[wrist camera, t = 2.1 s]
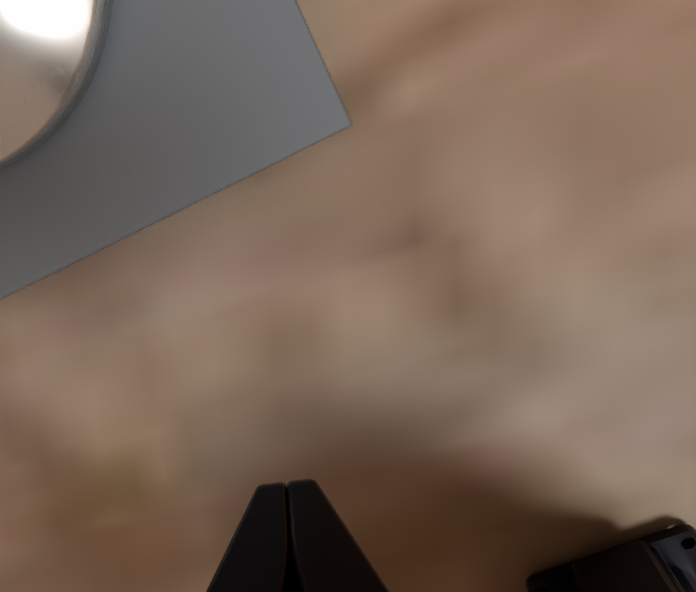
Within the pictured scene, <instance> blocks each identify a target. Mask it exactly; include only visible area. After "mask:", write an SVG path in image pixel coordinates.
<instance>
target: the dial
mask: <svg viewBox="0 0 696 592" xmlns="http://www.w3.org/2000/svg"><path fill="white" fill-rule="evenodd" d="M112 4H113V0H0V169H2V168H4V167H6V166H8V165H11V164H13V163H15V162H17V161H19V160H21V159H22V158H24V157H25V156H27V155H28V154H30V153H31V152H33V151H34V150H36V149H37V148H39V147H40V146H41V145H42V144H44V143H45V142H46V141H47V140H48V139H49V138H50V137H51V136H52V135H53V134H54V133H55V132H57V131H58V130H59V129H60V128H61V126H62V125H63V124H64V123H65V121H66V120H67V119H68V118H69V116H70V115H71V114H72V113H73V111H74V110H75V109H76V108H77V106H78V104H79V102H80V101H81V99H82V97H83V96H84V94H85V92H86V91H87V89H88V87H89V86H90V84H91V81H92V79H93V76H94V74H95V72H96V69H97V67H98V64H99V62H100V60H101V57H102V53H103V49H104V46H105V42H106V38H107V35H108V31H109V25H110V18H111V11H112Z"/></svg>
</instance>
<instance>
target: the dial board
mask: <svg viewBox="0 0 696 592" xmlns="http://www.w3.org/2000/svg"><path fill="white" fill-rule="evenodd" d="M350 126H352V123H351V120H350V118H349V116H348V114H347V112H346V109H345V107H344V105H343V103H342V101H341V98H340V96H339V94H338V92H337V90H336V87H335V85H334V83H333V81H332V79H331V76H330V74H329V72H328V70H327V68H326V65H325V63H324V61H323V59H322V57H321V54H320V52H319V50H318V48H317V46H316V43H315V41H314V39H313V37H312V35H311V32H310V30H309V28H308V26H307V24H306V21H305V19H304V17H303V15H302V13H301V10H300V8H299V6H298V4H297V2H296V0H113V4H112V11H111V18H110V25H109V31H108V35H107V38H106V42H105V46H104V49H103V53H102V57H101V60H100V62H99V64H98V67H97V69H96V72H95V74H94V76H93V79H92V81H91V84H90V86H89V87H88V89H87V91H86V92H85V94H84V96H83V97H82V99H81V101H80V102H79V104H78V106H77V108H76V109H75V110H74V111H73V113H72V114H71V115H70V116H69V118H68V119H67V120H66V121H65V123H64V124H63V125H62V126H61V128H60V129H59V130H58V131H57V132H55V133H54V134H53V135H52V136H51V137H50V138H49V139H48V140H47V141H46V142H45V143H44V144H42V145H41V146H40V147H39V148H37V149H36V150H34V151H33V152H31V153H30V154H28V155H27V156H25V157H24V158H22V159H21V160H19V161H17V162H15V163H13V164H11V165H8V166H6V167H4V168H2V169H0V299H2V298H4V297H6V296H8V295H10V294H12V293H14V292H16V291H18V290H20V289H22V288H25V287H27V286H29V285H31V284H33V283H35V282H37V281H39V280H41V279H43V278H45V277H47V276H49V275H51V274H53V273H55V272H57V271H59V270H61V269H63V268H65V267H67V266H69V265H71V264H73V263H75V262H77V261H79V260H81V259H83V258H85V257H87V256H89V255H91V254H93V253H95V252H97V251H99V250H101V249H103V248H105V247H107V246H109V245H111V244H113V243H115V242H117V241H119V240H121V239H124V238H126V237H128V236H130V235H132V234H134V233H136V232H138V231H140V230H142V229H144V228H146V227H148V226H150V225H152V224H154V223H156V222H158V221H160V220H162V219H164V218H166V217H168V216H170V215H172V214H174V213H176V212H178V211H180V210H182V209H184V208H186V207H188V206H190V205H192V204H194V203H196V202H198V201H200V200H202V199H204V198H206V197H208V196H210V195H212V194H214V193H216V192H218V191H221V190H223V189H225V188H227V187H229V186H231V185H233V184H235V183H237V182H239V181H241V180H243V179H245V178H247V177H249V176H251V175H253V174H255V173H257V172H259V171H261V170H263V169H265V168H267V167H269V166H271V165H273V164H275V163H277V162H279V161H281V160H283V159H285V158H287V157H289V156H291V155H293V154H295V153H297V152H299V151H301V150H303V149H305V148H307V147H309V146H311V145H313V144H315V143H318V142H320V141H322V140H324V139H326V138H328V137H330V136H332V135H334V134H336V133H338V132H340V131H342V130H344V129H346V128H348V127H350Z"/></svg>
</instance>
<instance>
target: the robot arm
mask: <svg viewBox="0 0 696 592" xmlns="http://www.w3.org/2000/svg"><path fill="white" fill-rule="evenodd" d="M687 537H690V538H689V540H688V541H686V542H682V540H683V539H684V538H687ZM539 586H544V587H545V588H543V589H542V590H536V588H537V587H539ZM526 588H527V592H696V530H695V528H693V527H692V526H690V525H685V524H683V525H678V526H675V527H672V528H669V529H666V530H663V531H660V532H657V533H654V534H651V535H648V536H645V537H642V538H639V539H636V540H633V541H630V542H628V543H625V544H622V545H619V546H616V547H613V548H610V549H607V550H604V551H601V552H598V553H595V554H592V555H589V556H586V557H583V558H580V559H577V560H574V561H571V562H568V563H565V564H562V565H559V566H556V567H553V568H550V569H547V570H544V571H542V572H539V573H536V574H533V575H531V576H530V577H529V578H528V579H527V581H526ZM206 592H390V591H389V590H388V588H387V587H386V585H385V584H384V582H383V581H382V579H381V578H380V576H379V575H378V573H377V572H376V570H375V569H374V567H373V566H372V564H371V563H370V561H369V560H368V558H367V557H366V555H365V554H364V552H363V551H362V549H361V548H360V546H359V545H358V543H357V542H356V540H355V539H354V537H353V536H352V534H351V533H350V531H349V530H348V528H347V527H346V525H345V524H344V522H343V521H342V519H341V518H340V516H339V515H338V513H337V512H336V510H335V509H334V507H333V506H332V504H331V503H330V501H329V500H328V498H327V497H326V495H325V494H324V492H323V491H322V489H321V488H320V486H319V485H318V483H317V482H316V481H315V480H313V479H304V480H296V481H290V482H289V483H288V484H287V488H286V485H285V483H283V482H279V483H271V484H262V485H260V486H258V487H257V489H256V490H255V492H254V494H253V496H252V498H251V500H250V502H249V504H248V507H247V509H246V511H245V513H244V515H243V517H242V519H241V521H240V523H239V525H238V527H237V529H236V531H235V533H234V535H233V537H232V539H231V542H230V544H229V546H228V548H227V550H226V552H225V554H224V556H223V558H222V560H221V562H220V564H219V566H218V568H217V570H216V572H215V574H214V577H213V579H212V581H211V583H210V585H209V587H208V589H207V591H206Z"/></svg>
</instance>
